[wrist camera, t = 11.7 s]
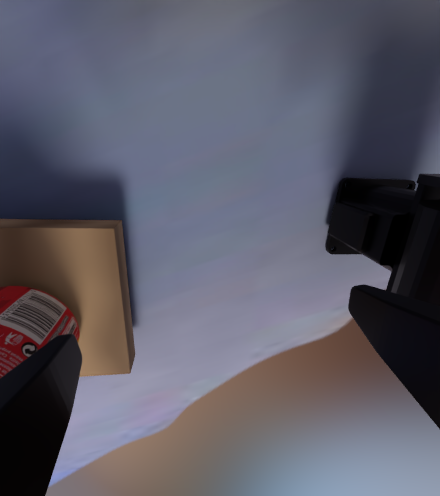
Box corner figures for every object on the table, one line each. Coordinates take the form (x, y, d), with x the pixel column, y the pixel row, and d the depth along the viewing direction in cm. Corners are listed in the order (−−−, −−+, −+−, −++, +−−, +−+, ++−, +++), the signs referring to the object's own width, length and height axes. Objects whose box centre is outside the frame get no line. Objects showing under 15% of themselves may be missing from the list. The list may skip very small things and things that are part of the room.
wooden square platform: (128, 213, 19) (113, 228, 16) (139, 338, 24) (130, 373, 20) (-48, 210, 18) (-109, 227, 14) (-2, 344, 22) (-40, 384, 18)
